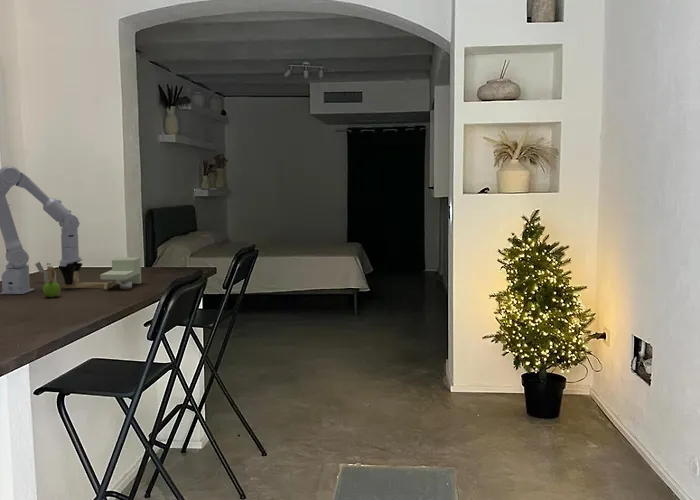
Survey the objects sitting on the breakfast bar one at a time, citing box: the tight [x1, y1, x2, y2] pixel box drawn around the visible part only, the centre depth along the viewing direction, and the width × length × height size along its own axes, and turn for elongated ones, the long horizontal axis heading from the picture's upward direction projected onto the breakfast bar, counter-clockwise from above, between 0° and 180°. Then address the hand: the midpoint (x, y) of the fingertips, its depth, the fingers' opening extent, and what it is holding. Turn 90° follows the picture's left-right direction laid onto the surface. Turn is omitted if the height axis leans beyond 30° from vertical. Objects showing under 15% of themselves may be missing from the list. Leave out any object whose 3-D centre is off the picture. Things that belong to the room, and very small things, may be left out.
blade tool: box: [62, 271, 114, 290], centre depth 235 cm, size 7×16×6 cm, turn 93°
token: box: [118, 281, 133, 290], centre depth 236 cm, size 4×4×2 cm
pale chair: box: [99, 256, 142, 285], centre depth 238 cm, size 20×9×10 cm, turn 3°
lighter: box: [34, 261, 57, 284], centre depth 248 cm, size 7×2×8 cm, turn 100°
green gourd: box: [42, 262, 61, 298], centre depth 214 cm, size 5×6×12 cm
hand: (71, 283), depth 235 cm, fingers closed on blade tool, 4 cm apart
